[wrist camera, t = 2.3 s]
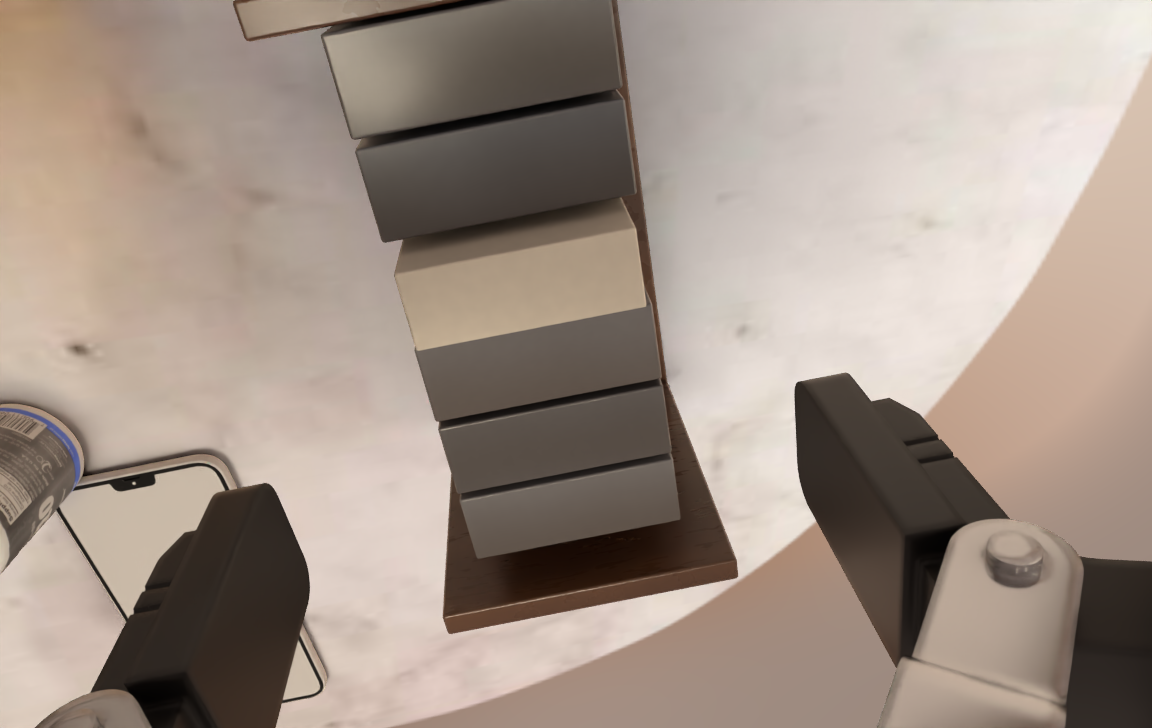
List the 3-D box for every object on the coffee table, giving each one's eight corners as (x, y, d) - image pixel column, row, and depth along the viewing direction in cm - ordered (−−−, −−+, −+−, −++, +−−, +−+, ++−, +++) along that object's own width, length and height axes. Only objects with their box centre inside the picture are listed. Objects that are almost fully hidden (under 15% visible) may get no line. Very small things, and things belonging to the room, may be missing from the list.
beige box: (426, 142, 29) (392, 274, 18) (581, 113, 29) (636, 227, 18) (440, 197, 30) (416, 352, 19) (590, 168, 30) (647, 307, 19)
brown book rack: (329, -34, 27) (230, 1, 16) (601, -86, 27) (676, -85, 16) (459, 423, 36) (448, 635, 25) (664, 383, 36) (738, 579, 25)
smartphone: (187, 723, 42) (41, 491, 34) (191, 712, 42) (48, 481, 35) (331, 694, 42) (216, 456, 34) (333, 683, 42) (221, 447, 35)
